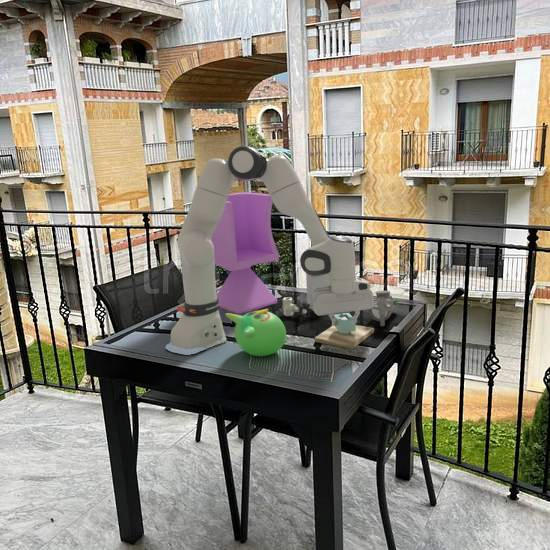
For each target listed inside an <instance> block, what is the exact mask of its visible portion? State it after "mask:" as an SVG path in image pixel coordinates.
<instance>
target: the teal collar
mask: <svg viewBox="0 0 550 550" xmlns="http://www.w3.org/2000/svg"><path fill="white" fill-rule="evenodd" d="M340 317H346V318H347V319H348V320H341V318H340ZM353 317H354V316H352V315H351V314H350V312H343V313H335V314H334V317H333V319H336V320H337V325H336V326H335V327H336V329H337V330H338V331H339V332H340V333H345V332H353V331H356V325H357V323H355V319H354V318H353Z"/></svg>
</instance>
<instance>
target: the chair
mask: <svg viewBox="0 0 550 550" xmlns="http://www.w3.org/2000/svg"><path fill="white" fill-rule="evenodd" d="M227 197H228V199H227V202H226V205H225V208H224V211H223V215H222V218H221V220H220V221H219V223H218V225H217V227H216V229H215V231H214V234H213V236H212V239H211V241H212V243H213V245H214V258H215V266H218V267H220V268H222V269H224V270H226V271H229V272H230V273H229V274H228V276H227V277H226V279H225V280H224V282H223V284H222V286H221V287H220V289H219V290H218V292H217V298H218V300H219V309H222V310H225V311H227V312H228V313H231V314H235V315H240V316H242V315H243V314H244V315H245V314H247V313H250V312H253V311H258V310H262V309H264V308H266V307H270V306H273V305H276V304H278V299H277V298H276V297H275V295H274V294H273V293H272V292H271V290H270V289H269V288H268V287H267V286H266V284H264V282H263V281H262V280H261V279H260V278H259V277H258V275H257V273H255V272H254V270H252V268H251V267H252V266H256V265H259V264H266V263H273V262H277V261H279V260H280V256H279V251H278V249H277V246H276V242H275V240H274V237H273V232H272V226H271V225H272V224H271V223H272V222H271V221H272V220H271V218H272V209H273V208H272V207H273V204H274V203H273V201H272V199H271V197H270V194H269V193H268V194H266V193H258V192H236V193H229V196H227Z"/></svg>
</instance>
